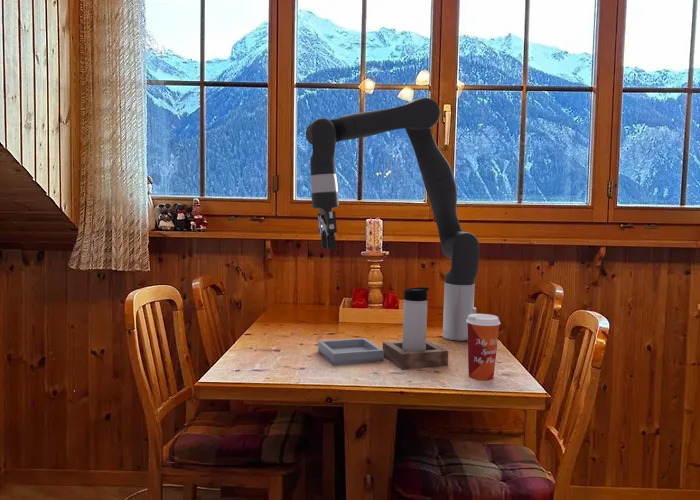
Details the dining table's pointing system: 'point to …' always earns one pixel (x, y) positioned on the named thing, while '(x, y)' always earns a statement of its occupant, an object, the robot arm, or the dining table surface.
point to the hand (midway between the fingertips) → (328, 248)
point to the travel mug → (415, 319)
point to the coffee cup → (482, 345)
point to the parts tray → (350, 351)
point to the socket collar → (415, 356)
